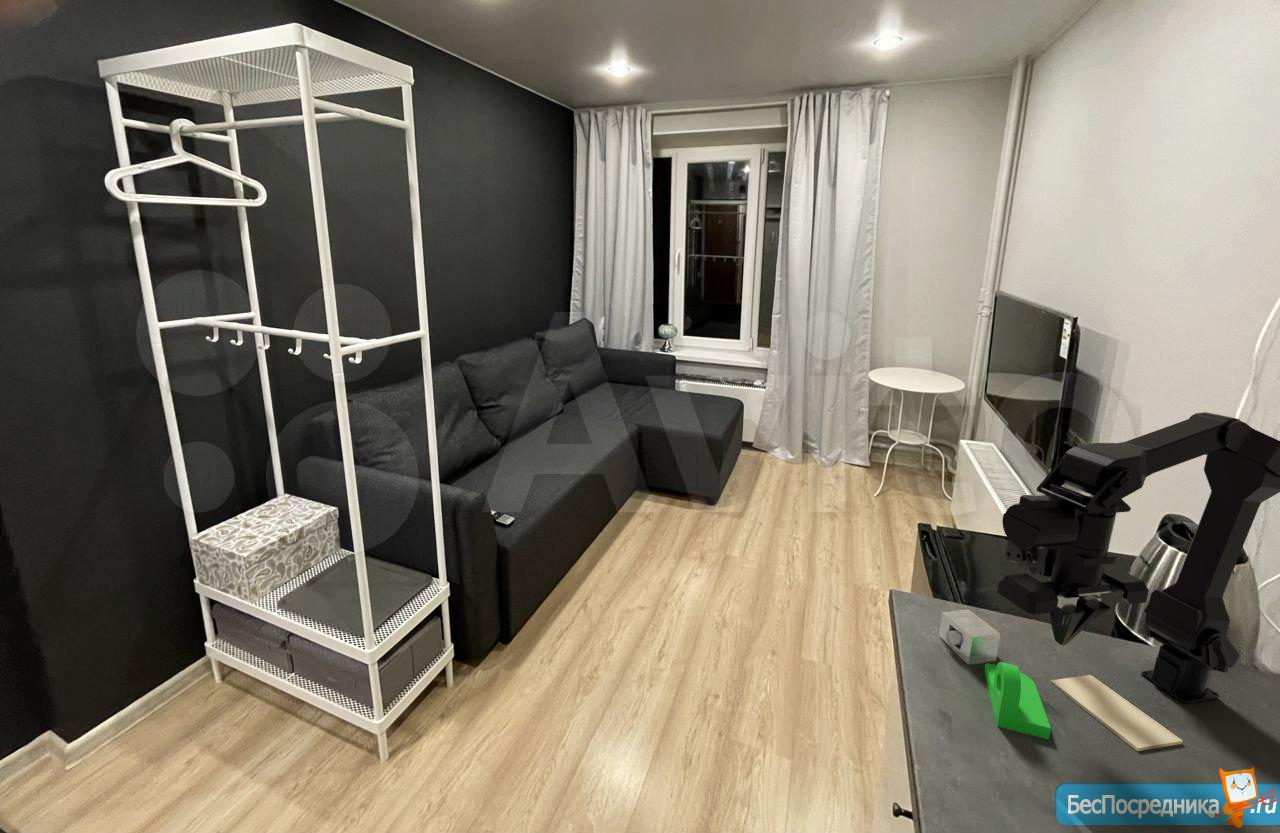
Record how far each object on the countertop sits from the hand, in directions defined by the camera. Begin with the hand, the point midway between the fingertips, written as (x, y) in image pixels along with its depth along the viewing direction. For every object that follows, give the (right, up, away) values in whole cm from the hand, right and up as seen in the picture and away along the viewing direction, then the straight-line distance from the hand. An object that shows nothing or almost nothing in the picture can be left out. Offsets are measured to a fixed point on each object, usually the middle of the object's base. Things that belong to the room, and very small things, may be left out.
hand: (1060, 642), depth 81 cm
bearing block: (-5, -7, +14) cm, 17 cm away
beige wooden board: (+8, -10, +1) cm, 13 cm away
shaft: (-5, -6, +14) cm, 16 cm away
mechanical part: (-5, -10, +3) cm, 12 cm away
